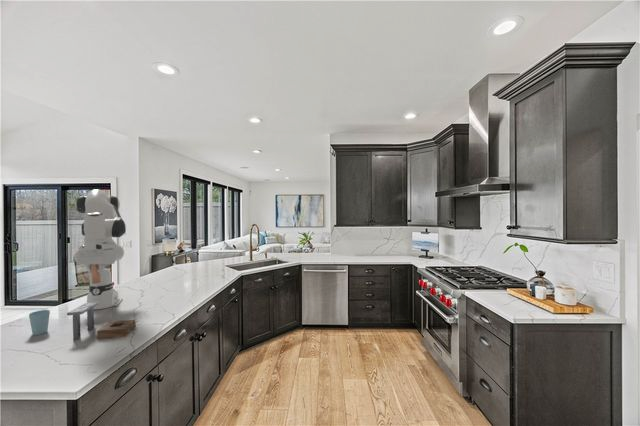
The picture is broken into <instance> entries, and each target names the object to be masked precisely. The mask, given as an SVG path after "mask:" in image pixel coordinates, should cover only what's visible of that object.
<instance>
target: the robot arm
mask: <svg viewBox="0 0 640 426" xmlns="http://www.w3.org/2000/svg"><path fill="white" fill-rule="evenodd" d="M120 205H121V203H120V200H119V199H118V197H117V196H115V195H107V193H106V192H105V191H104V190H101V189H98V188H97V189H95V188H94V189H92V190H90V191H89V192H88V193H87V195H82V196H78V197H77V198H76V200H75V204H74V208H75V209H76V210H77V211H76V212H78V213H80V214H85V215H84V221H83V222H82V224H80V225H81V235H83V236H84V238H83V245H80V246H79V248H78V249H77V250H76V251H75V252H74V254H73V258H74V261H75V262H76V264H77V265H80V266H82V267H83V268H84V269H85V270H86V272H87V273H88V276H89V277H88V278H89V288H88V290H89V291H88V294H87V295H86V303H95V302H98V305H97V306H95V307H94V311H95V310H102V309H103V310H104V309H107V308H111V307H115V306H119V304H120V303H121V302H122V301H123V297H119V292H118V290H117V289H115V288H114V285H115V282H114V281H113V282H112V272H111V270H109V269H108V268H105V267H106V266H107V265H114V264H115V263H116V261H120V260H122V259H123V257H124V255H125V250H124V248H123V246H121V245H120V244H118V243H116V241H115V240H114V239H113V238H121V237H122V236H124V235H125V233H126V231H127V230H126V229H127V226H126V222H125V220H124V219H123V218H122V216H121V213H120V211H119V208H120ZM92 264H99V270H97V273H98V274H101V282H100V283H95V284H92Z"/></svg>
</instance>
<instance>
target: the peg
mask: <svg viewBox="0 0 640 426" xmlns="http://www.w3.org/2000/svg"><path fill="white" fill-rule="evenodd" d="M97 270H99V264H92V284H95V283H100V282H101V274H98V273H97Z"/></svg>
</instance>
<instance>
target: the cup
mask: <svg viewBox="0 0 640 426" xmlns="http://www.w3.org/2000/svg"><path fill="white" fill-rule="evenodd" d="M50 313H51V310H50V309H43V310H42V309H40V310H37V311H32V312H30V313H29V314H28V318H29V322H30V328H31V332H32V335H33V336H39V335H43V334H46V333H47V332H48V329H49V321H50Z"/></svg>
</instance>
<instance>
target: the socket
mask: <svg viewBox="0 0 640 426" xmlns="http://www.w3.org/2000/svg"><path fill="white" fill-rule="evenodd" d="M136 322H137V321H136V319H126V320H115V321H113V320H112V321H108V322H107V323H106V324H104V325H103V326H102V327H100V328H98V329H97V330H96V334H97V335H96V336H97V340H104V339H115V338H123V337H124V338H125V337H127V336H129V334H130V333H131V332H132V331H133V330H134V329H135V328H136V327H137V324H136Z"/></svg>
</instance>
